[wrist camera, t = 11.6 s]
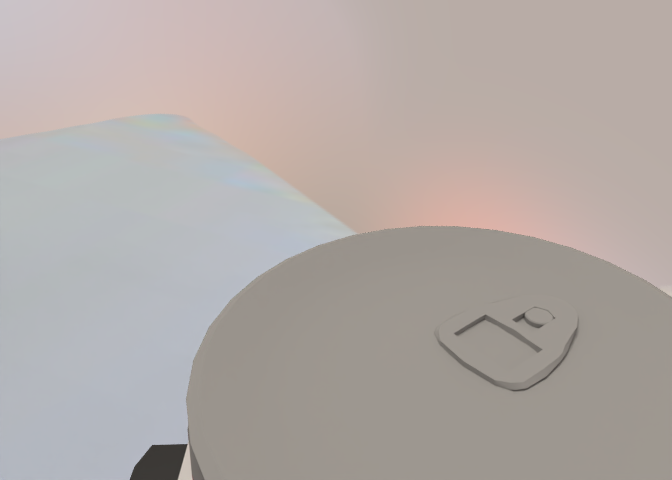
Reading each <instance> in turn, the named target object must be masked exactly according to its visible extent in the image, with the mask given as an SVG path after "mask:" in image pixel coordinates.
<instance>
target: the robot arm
mask: <svg viewBox="0 0 672 480" xmlns="http://www.w3.org/2000/svg"><path fill="white" fill-rule="evenodd" d="M130 480H193V478H192V471H191V460H190V449H189V442H188V444H177V445H152V446H151V447H150V449H149V450H148V451H147V452H146V453H145V455H144V456H143V457H142V458H141V459H140V461H139V462H138V463H137V464H136V466H135V467H134V470H133V472H132V475H131V478H130Z"/></svg>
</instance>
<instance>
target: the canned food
mask: <svg viewBox="0 0 672 480" xmlns="http://www.w3.org/2000/svg"><path fill="white" fill-rule="evenodd" d="M186 403H187V413H188V438H189V449H190V460H191V471H192V478H193V480H672V297H671V296H669V295H667V294H666V293H664V292H663V291H661V290H660V289H658V288H657V287H655V286H654V285H652V284H651V283H649V282H647V281H646V280H644V279H642V278H640V277H638V276H636V275H634V274H631V273H630V272H628V271H626V270H624V269H622V268H620V267H618V266H616V265H614V264H612V263H610V262H607V261H605V260H602V259H599V258H596V257H594V256H592V255H589V254H586V253H584V252H581V251H578V250H576V249H573V248H571V247H567V246H563V245H559V244H556V243H553V242H549V241H545V240H541V239H538V238H535V237H530V236H524V235H519V234H514V233H509V232H503V231H498V230H489V229H479V228H468V227H458V226H456V227H455V226H418V227H407V228H395V229H385V230H380V231H374V232H368V233H363V234H358V235H352V236H348V237H345V238H342V239H338V240H335V241H332V242H328V243H325V244H322V245H318V246H316V247H314V248H311V249H309V250H307V251H304V252H302V253H300V254H298V255H295V256H293V257H291V258H288V259H286V260H285V261H283V262H281V263H280V264H278V265H276V266H275V267H273V268H271V269H270V270H268V271H266V272H265V273H263V274H262V275H260V276H258V277H257V278H256V279H254V280H253V281H252V282H251V283H250V284H249V285H247V286H246V287H245V288H244V289H243V290H242V291H240V292H239V293H238V294H237V295H236V296H235V297H233V298H232V299H231V300H230V302H229V303H228V304H227V305H226V307H225V308H224V309H223V310H222V312H221V313H220V314H219V315H218V317H217V318H216V319H215V320H214V322H213V323H212V324H211V326H210V327H209V329H208V331H207V333H206V335H205V337H204V339H203V341H202V343H201V345H200V348H199V350H198V352H197V354H196V356H195V358H194V360H193V365H192V371H191V376H190V381H189V387H188V392H187V397H186Z"/></svg>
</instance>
